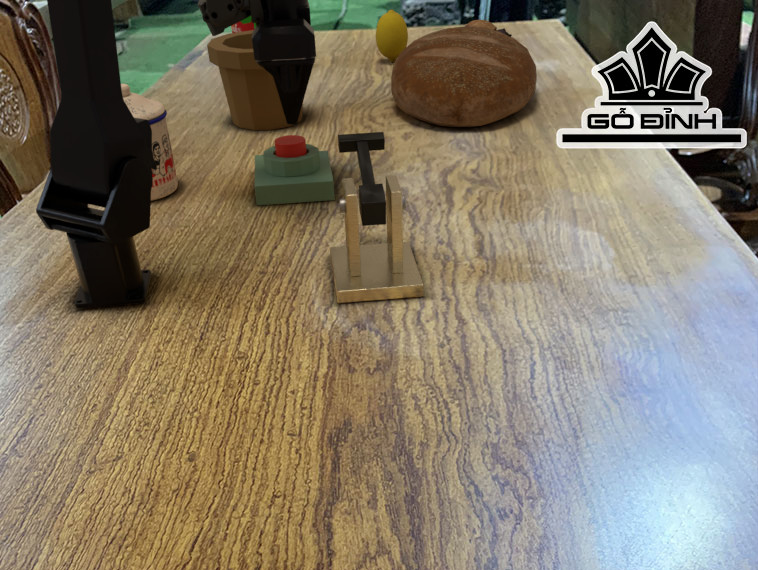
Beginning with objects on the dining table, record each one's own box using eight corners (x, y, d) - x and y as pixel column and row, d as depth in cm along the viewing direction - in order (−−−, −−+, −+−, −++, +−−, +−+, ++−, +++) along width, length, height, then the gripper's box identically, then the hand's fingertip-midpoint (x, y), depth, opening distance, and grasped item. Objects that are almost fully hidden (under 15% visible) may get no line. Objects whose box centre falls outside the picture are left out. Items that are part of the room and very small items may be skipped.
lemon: (372, 65, 144) (370, 12, 138) (381, 57, 148) (380, 6, 142) (403, 66, 142) (402, 13, 137) (411, 59, 146) (411, 6, 141)
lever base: (330, 258, 84) (324, 169, 78) (409, 252, 84) (408, 163, 78) (337, 303, 76) (330, 208, 70) (423, 296, 77) (423, 201, 71)
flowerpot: (296, 137, 114) (271, -139, 94) (202, 131, 117) (158, -137, 98) (329, 108, 124) (313, -147, 105) (242, 103, 128) (210, -144, 108)
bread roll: (475, 51, 150) (476, 28, 147) (444, 43, 155) (445, 21, 152) (517, 41, 154) (519, 18, 152) (486, 34, 159) (487, 12, 157)
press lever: (338, 151, 82) (337, 128, 80) (383, 148, 83) (383, 125, 81) (349, 227, 76) (348, 204, 74) (398, 223, 76) (398, 200, 74)
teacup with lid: (167, 205, 96) (145, 96, 88) (92, 204, 97) (64, 96, 89) (196, 169, 105) (178, 68, 98) (127, 169, 106) (105, 68, 98)
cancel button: (307, 159, 96) (305, 143, 95) (276, 161, 96) (274, 145, 95) (306, 149, 99) (304, 134, 98) (275, 151, 99) (274, 136, 97)
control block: (334, 200, 96) (332, 164, 93) (256, 205, 95) (252, 170, 93) (328, 168, 104) (326, 135, 101) (257, 173, 103) (253, 139, 101)
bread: (380, 132, 114) (378, 65, 109) (400, 66, 142) (400, 10, 137) (540, 132, 113) (546, 64, 107) (529, 65, 140) (534, 8, 135)
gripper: (201, -62, 90) (223, 94, 100) (188, -36, 76) (215, 142, 86) (303, -67, 91) (315, 88, 101) (309, -42, 77) (322, 135, 87)
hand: (291, 112), depth 94 cm, fingers open, 9 cm apart
